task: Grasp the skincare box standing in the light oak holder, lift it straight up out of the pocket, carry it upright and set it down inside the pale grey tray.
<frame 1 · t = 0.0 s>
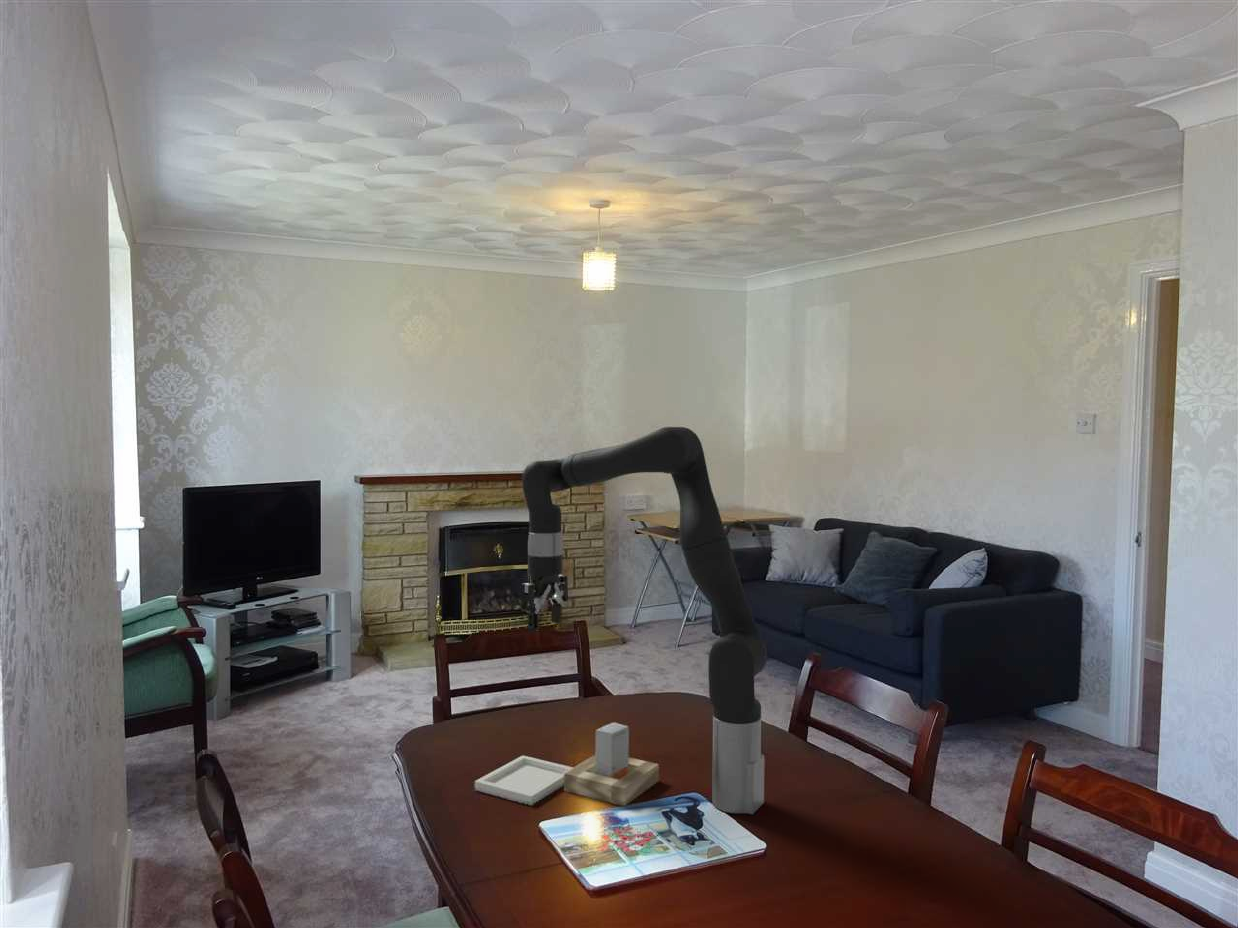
hand: (545, 626, 191), 29 cm above the table, tool pointing down, fingers open, 8 cm apart
oak holder: (612, 785, 178), on the table
grey tray: (526, 783, 178), on the table
skincare box: (612, 786, 178), resting in oak holder
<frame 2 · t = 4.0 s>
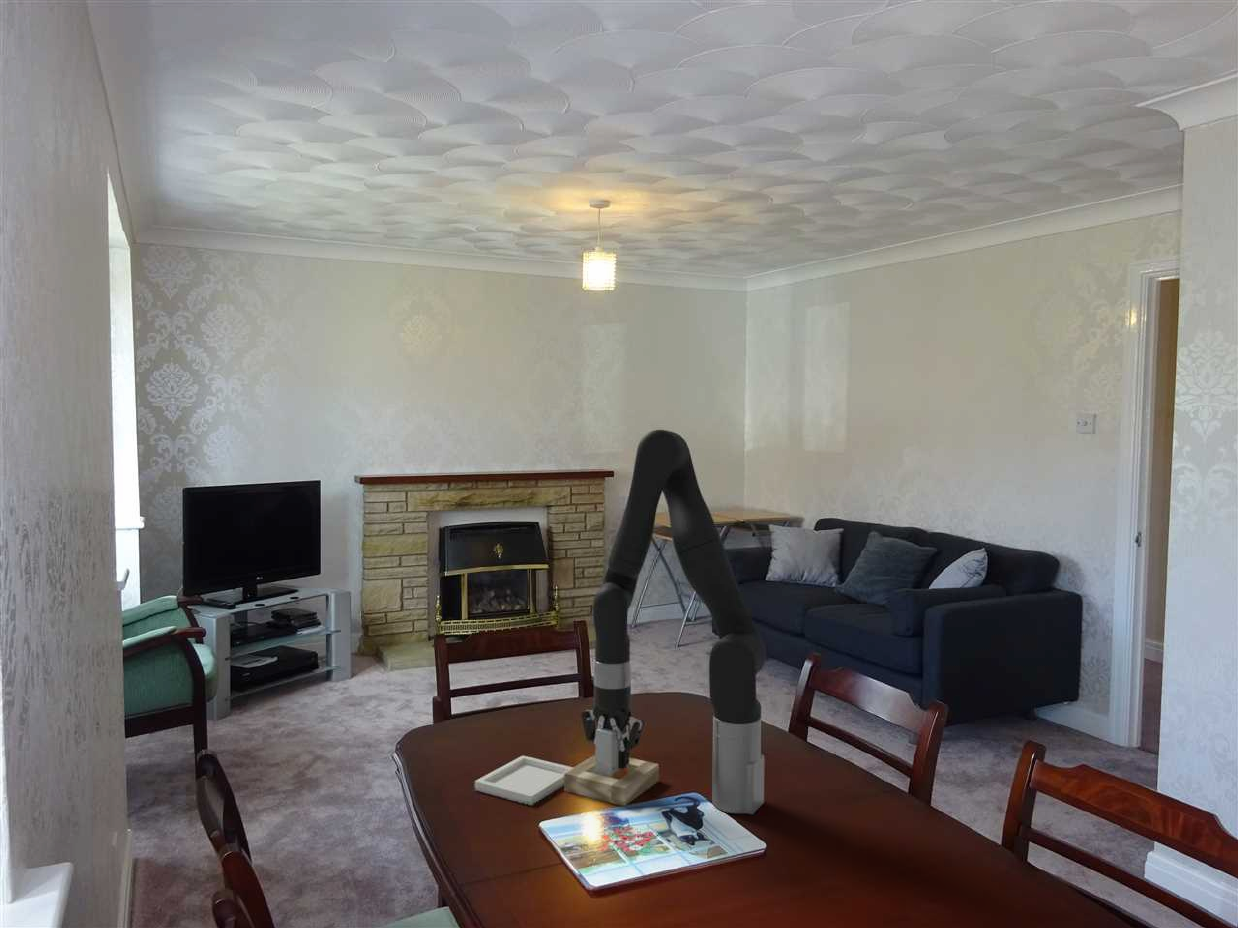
hand: (611, 764, 177), 4 cm above the table, tool pointing down, fingers closed on skincare box, 4 cm apart
skincare box: (611, 786, 178), resting in oak holder, touching gripper
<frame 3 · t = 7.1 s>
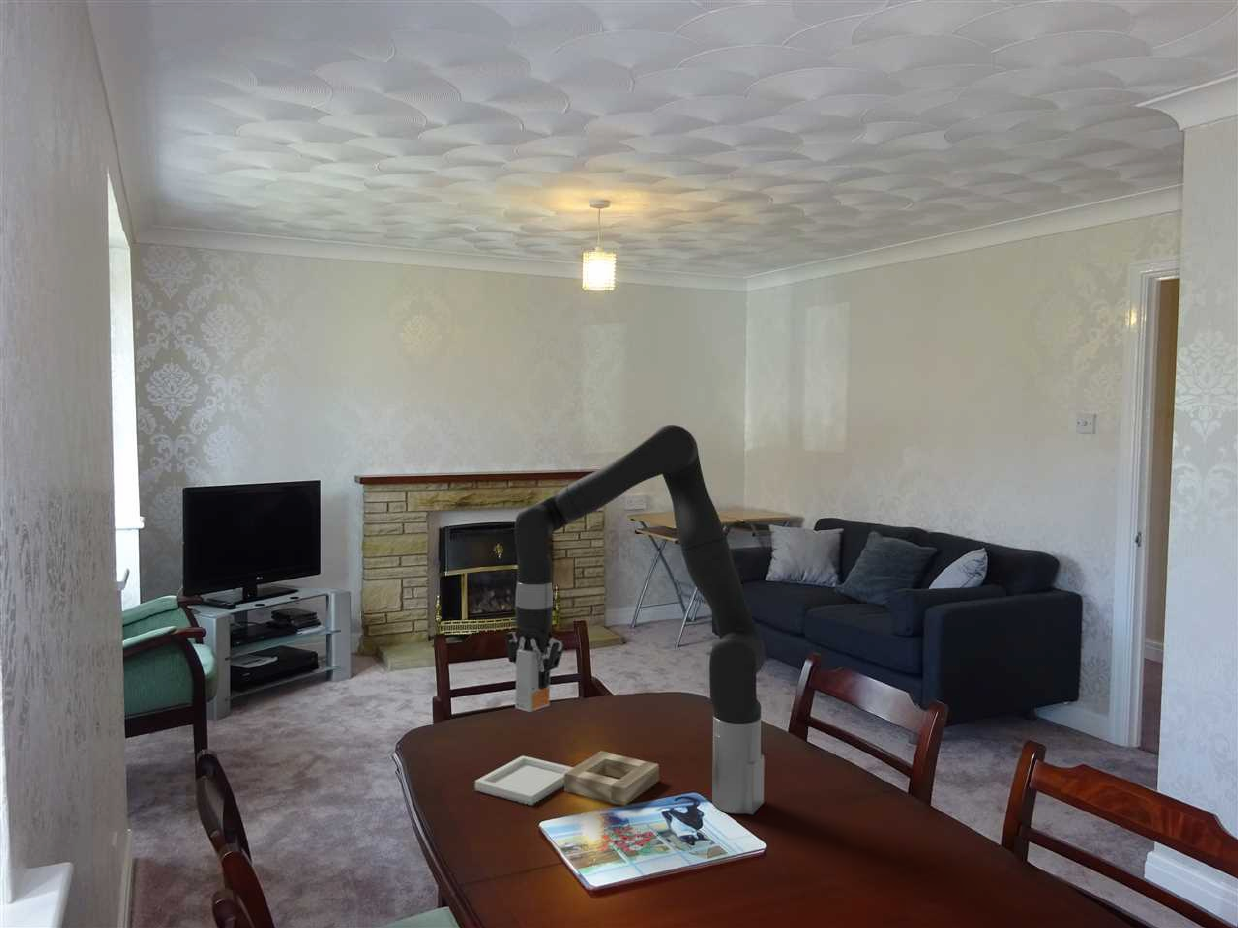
hand: (532, 685, 178), 20 cm above the table, tool pointing down, fingers closed on skincare box, 4 cm apart
skincare box: (532, 707, 178), point 15 cm above the table, touching gripper
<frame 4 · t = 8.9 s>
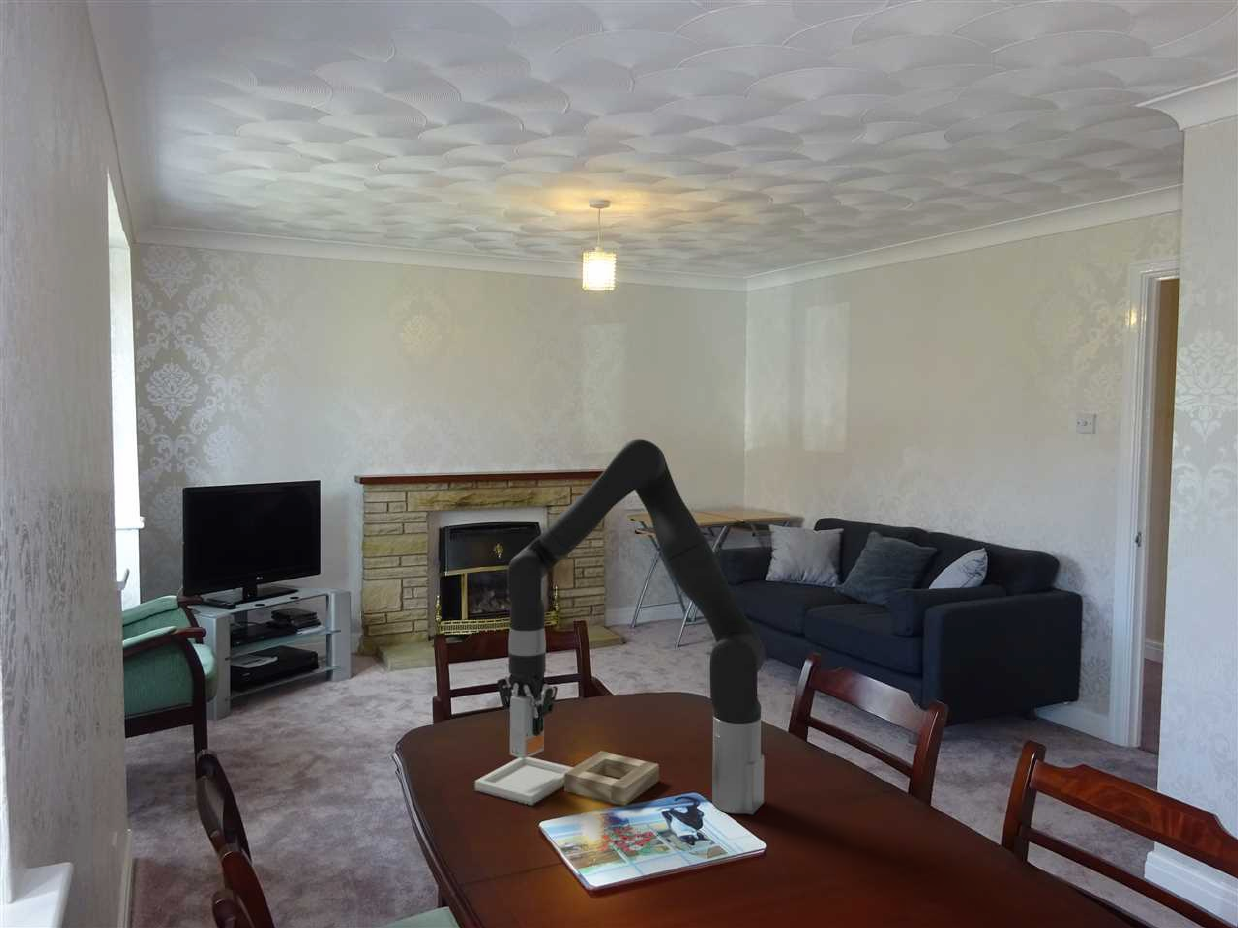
hand: (527, 731, 178), 11 cm above the table, tool pointing down, fingers closed on skincare box, 4 cm apart
skincare box: (527, 753, 178), point 6 cm above the table, touching gripper
when the fingers open (6 cm above the table, at t = 10.5 s): skincare box drops 1 cm, resting on grey tray.
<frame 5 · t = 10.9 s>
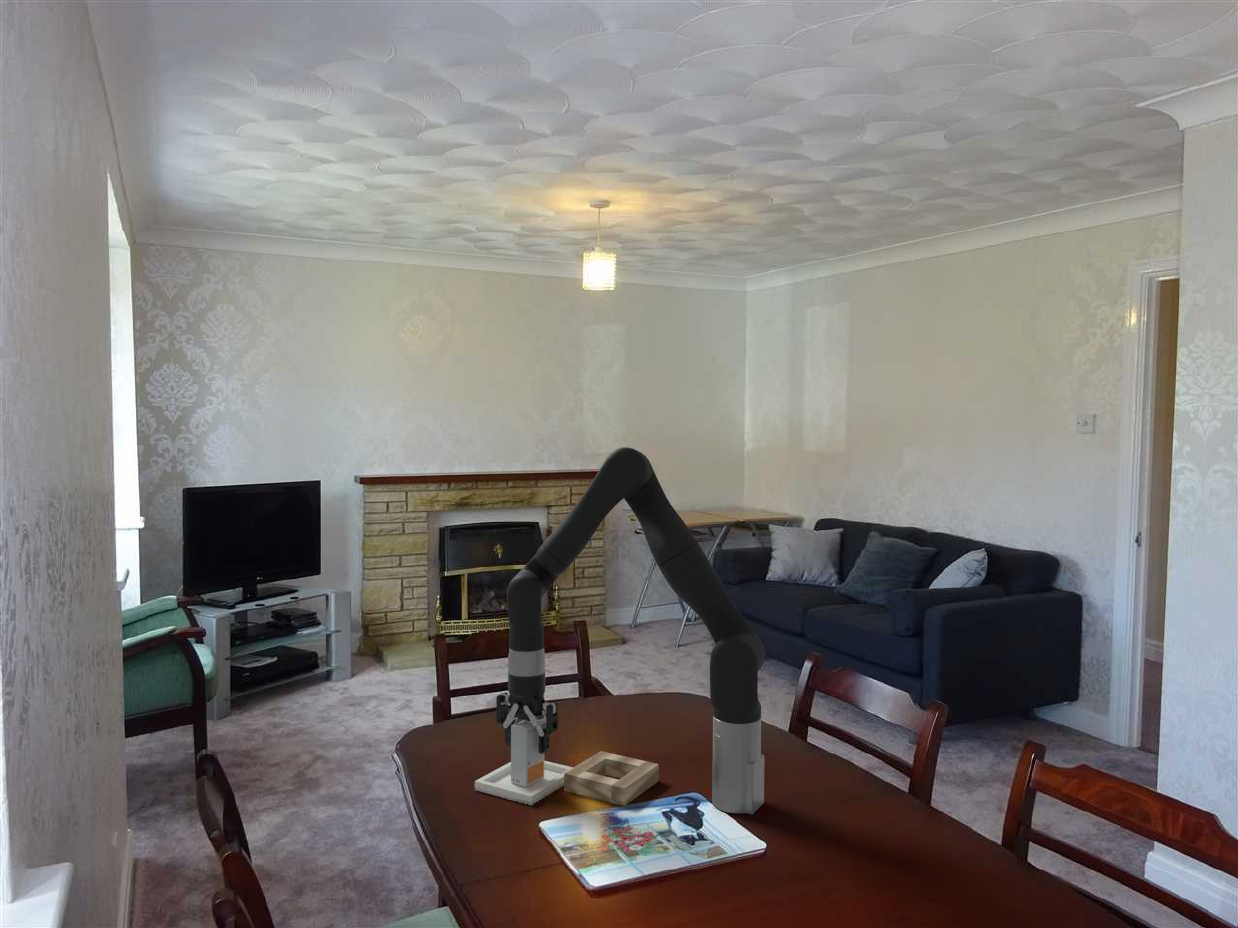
hand: (526, 748, 178), 7 cm above the table, tool pointing down, fingers open, 7 cm apart
skincare box: (527, 781, 178), resting on grey tray
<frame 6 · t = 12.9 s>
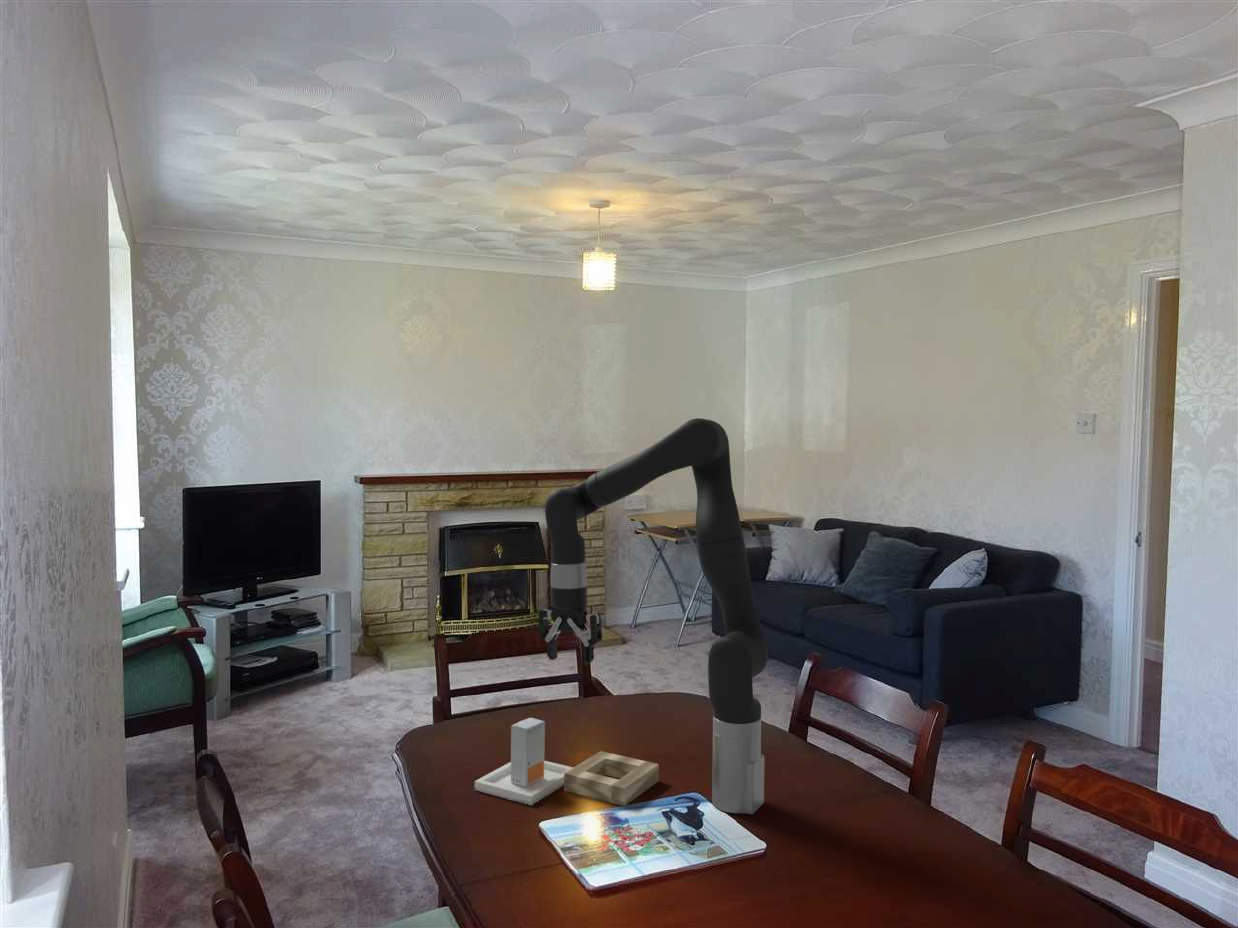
hand: (570, 661, 182), 24 cm above the table, tool pointing down, fingers open, 8 cm apart
nothing on the table moved.
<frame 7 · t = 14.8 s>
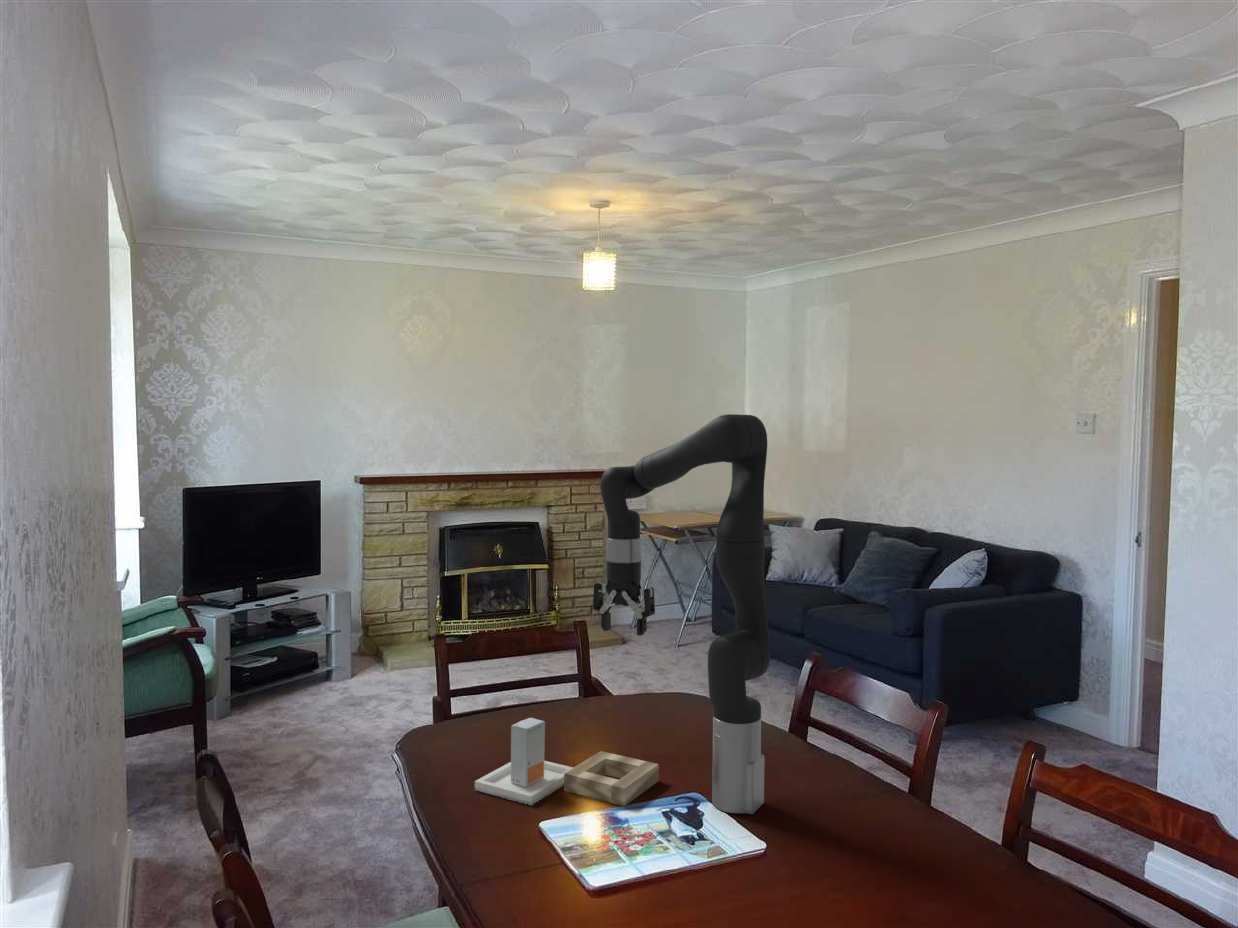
hand: (623, 632, 190), 28 cm above the table, tool pointing down, fingers open, 8 cm apart
nothing on the table moved.
at the end: skincare box inside the target area on the grey tray (0.2 cm from its centre), point 0.4 cm above the grey tray's base; skincare box tilted 0°; the gripper is holding nothing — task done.
